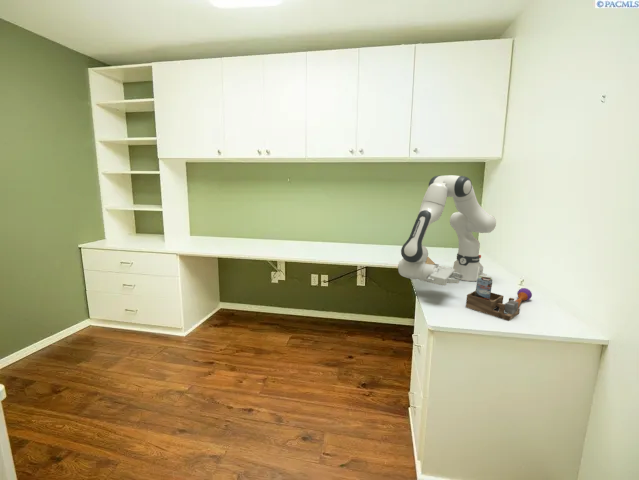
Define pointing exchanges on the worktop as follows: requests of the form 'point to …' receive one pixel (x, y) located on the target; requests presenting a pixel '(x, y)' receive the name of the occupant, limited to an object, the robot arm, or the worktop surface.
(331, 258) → the worktop surface
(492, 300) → the tray
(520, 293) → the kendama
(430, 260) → the model pyramid
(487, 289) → the beverage can
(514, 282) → the worktop surface
